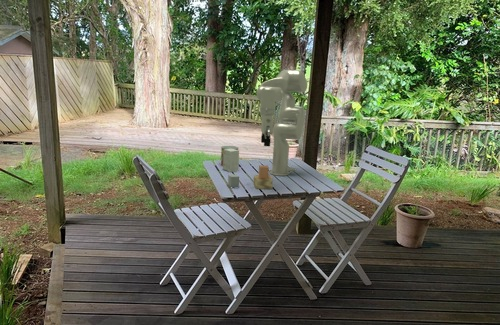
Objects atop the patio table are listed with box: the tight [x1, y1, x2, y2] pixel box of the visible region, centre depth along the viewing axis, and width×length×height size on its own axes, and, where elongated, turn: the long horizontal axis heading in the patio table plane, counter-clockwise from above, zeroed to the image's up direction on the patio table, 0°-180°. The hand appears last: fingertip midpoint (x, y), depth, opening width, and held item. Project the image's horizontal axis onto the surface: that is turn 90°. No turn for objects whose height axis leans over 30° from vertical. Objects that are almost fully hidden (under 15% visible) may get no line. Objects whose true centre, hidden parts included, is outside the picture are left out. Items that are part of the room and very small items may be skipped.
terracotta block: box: [258, 164, 270, 178], centre depth 200 cm, size 4×4×6 cm
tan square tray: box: [253, 174, 274, 190], centre depth 201 cm, size 9×9×5 cm
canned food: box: [220, 145, 239, 167], centre depth 246 cm, size 11×11×12 cm
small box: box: [222, 149, 240, 173], centre depth 233 cm, size 8×6×13 cm
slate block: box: [227, 174, 240, 188], centre depth 198 cm, size 4×4×6 cm
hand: (265, 144), depth 197 cm, fingers open, 9 cm apart
